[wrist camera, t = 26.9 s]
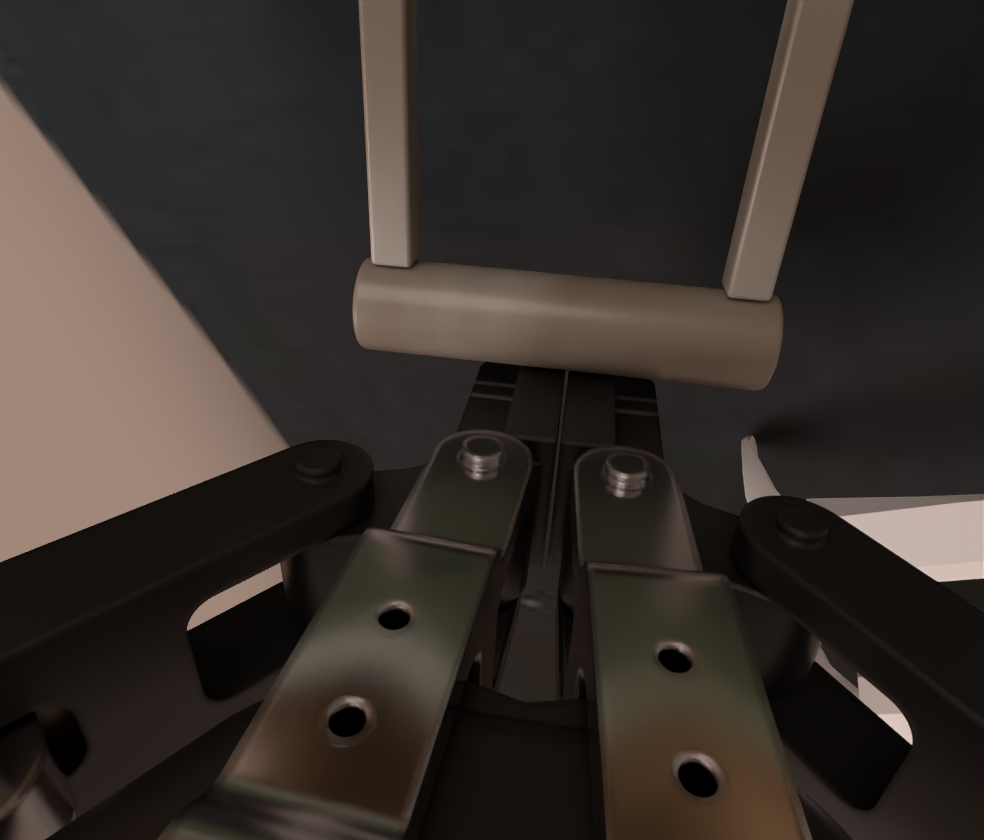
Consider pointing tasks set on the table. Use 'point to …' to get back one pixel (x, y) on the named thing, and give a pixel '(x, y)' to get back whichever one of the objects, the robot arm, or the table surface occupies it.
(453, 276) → the drawer
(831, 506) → the male figurine
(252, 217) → the table surface
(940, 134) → the table surface
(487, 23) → the table surface
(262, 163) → the table surface
